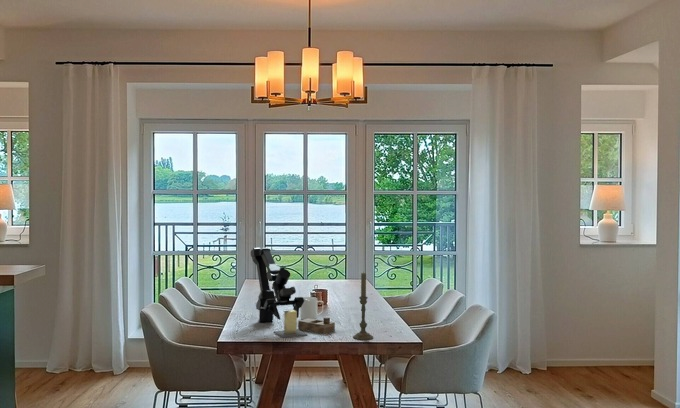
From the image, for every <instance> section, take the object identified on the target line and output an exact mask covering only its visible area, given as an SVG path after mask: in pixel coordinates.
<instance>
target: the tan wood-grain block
mask: <svg viewBox="0 0 680 408" xmlns="http://www.w3.org/2000/svg"><path fill="white" fill-rule="evenodd" d="M283 312H284V313H283V315H284V316H283V325H284V326H283V331H284V333H286V334H292V333H297V329H298V320H297V319H298V318H297V311H294V310H293V309H292V310H284V311H283Z"/></svg>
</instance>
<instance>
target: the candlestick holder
mask: <svg viewBox="0 0 680 408" xmlns="http://www.w3.org/2000/svg"><path fill="white" fill-rule="evenodd" d="M360 280H361V282H360V284H361V285H360V296H359V303H360V305H361V309H360V311H361V321H360V322H359V324H358V325H359V327H360V330H359V332H357V333H355V334H354V335H353V337H352V338H353V339H354V340H357V341H359V340H360V341H369V340H372V339H374V336H373V335H371V334H370V333H369V332H367V331H366V328H367V325H368V323H367V322H366V319H365V318H366V310H367V309H366V304H367V303H368V296H367V273H365V272H364V271H363V272H361V274H360Z"/></svg>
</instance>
